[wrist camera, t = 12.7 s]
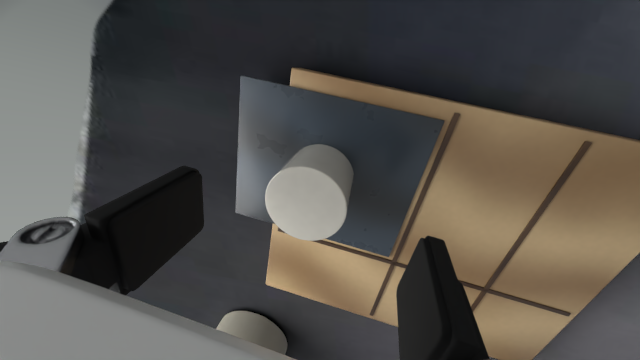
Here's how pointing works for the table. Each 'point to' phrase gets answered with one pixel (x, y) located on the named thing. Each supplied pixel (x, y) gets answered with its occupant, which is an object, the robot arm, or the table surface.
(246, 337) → the travel mug
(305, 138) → the board
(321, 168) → the white squat cylinder
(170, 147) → the table surface
